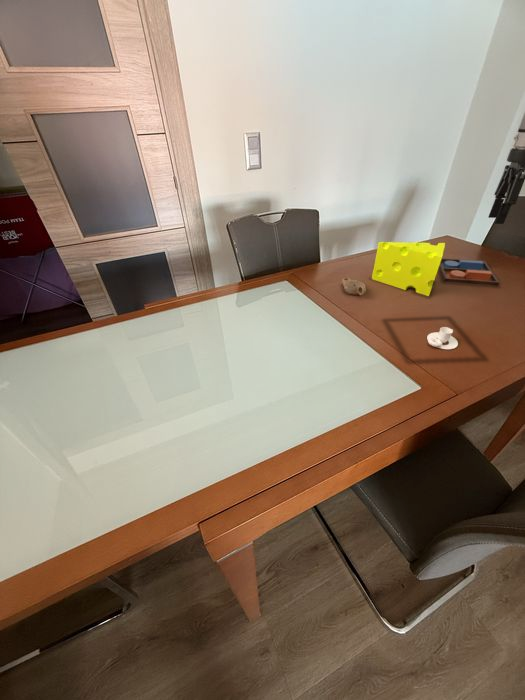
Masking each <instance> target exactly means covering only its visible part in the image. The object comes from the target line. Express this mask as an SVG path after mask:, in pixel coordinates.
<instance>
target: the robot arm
mask: <svg viewBox="0 0 525 700" xmlns="http://www.w3.org/2000/svg"><path fill="white" fill-rule="evenodd" d="M506 162H508V163H510V164H507V165H505V166H504V170H503V172H502V175H501V178H500V180H499V182H498V184H497V187H496V188H495V192H494V195H493V196H495V197H494V201H493V204H492V206H491V209H490V212H489V214H488V218H489V219H495V220H494V224H495V225H504V224H505V222H506V219H507V217H508V214H509V212H510V210H511V207H512V206H513V205H516V204H517V201H518V199H519V197H520V193H521V191H522V189H523V186H524V183H525V112H524V113H523V116H522V119H521V121H520V124H519V127H518V129H517V132H516V135H514V136H513V142H512V148H511V149H510V150H509V153H508V155H507V157H506Z"/></svg>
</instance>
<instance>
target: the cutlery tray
mask: <svg viewBox="0 0 525 700" xmlns="http://www.w3.org/2000/svg"><path fill="white" fill-rule="evenodd" d="M460 260H463V258H461V259H459V258H443V257H442V259H441V262H440V265H439V268H438V270H439V272H440V274H441V277H442V280H443V282H445V283H457V284H468V285H469V284H471V285H485V286H496V287H497V286H499V285H500V281H499V280H498V278H497V276H496V275H495V274H494V272H493V270H492V269H491V267H490V265H488V263H487V261H485V260H482V261H483V263H484V264H483V266H482V269H466V268H446V267H444V263H445V261H456V262H458V263H459V261H460ZM471 260H472V261H480V260H478V259H471ZM454 270H458V271H462V272H464V273H466V270H479V271H491V273H492V276H491V278H490V280H480V279H467V278H464V279H457V278H451V277H450V276H449V275H450V272H451V271H454Z"/></svg>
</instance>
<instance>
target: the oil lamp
mask: <svg viewBox="0 0 525 700" xmlns="http://www.w3.org/2000/svg"><path fill="white" fill-rule="evenodd" d="M341 283H342V286H343V290H344V292H346V294H348V295H352V296H356V295H360V296H363V295H366V293H367V289H366V284H365V283H364V282H363V281H360V280H357V279H351V277H344V278H342V279H341Z"/></svg>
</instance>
